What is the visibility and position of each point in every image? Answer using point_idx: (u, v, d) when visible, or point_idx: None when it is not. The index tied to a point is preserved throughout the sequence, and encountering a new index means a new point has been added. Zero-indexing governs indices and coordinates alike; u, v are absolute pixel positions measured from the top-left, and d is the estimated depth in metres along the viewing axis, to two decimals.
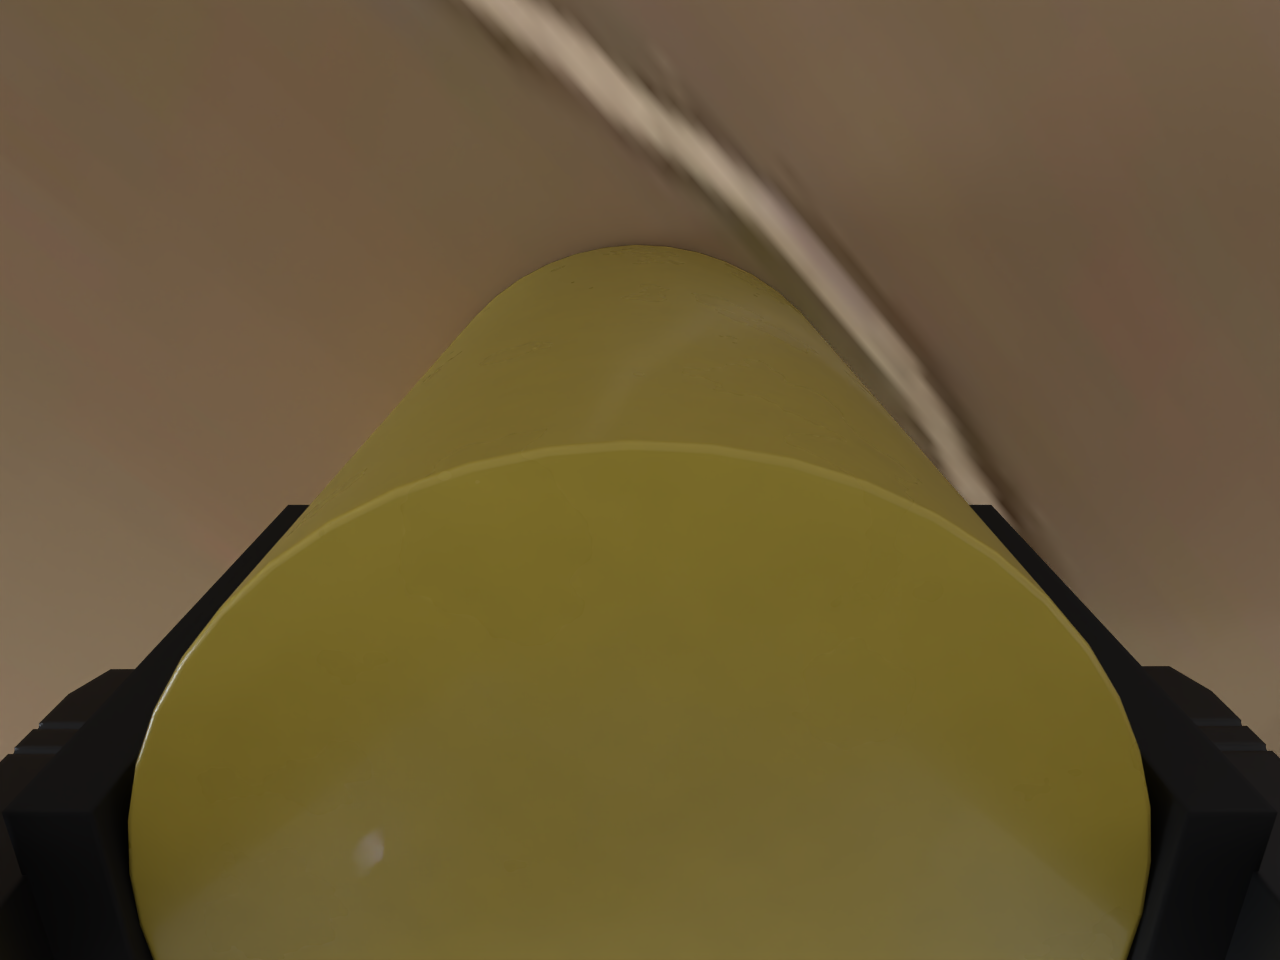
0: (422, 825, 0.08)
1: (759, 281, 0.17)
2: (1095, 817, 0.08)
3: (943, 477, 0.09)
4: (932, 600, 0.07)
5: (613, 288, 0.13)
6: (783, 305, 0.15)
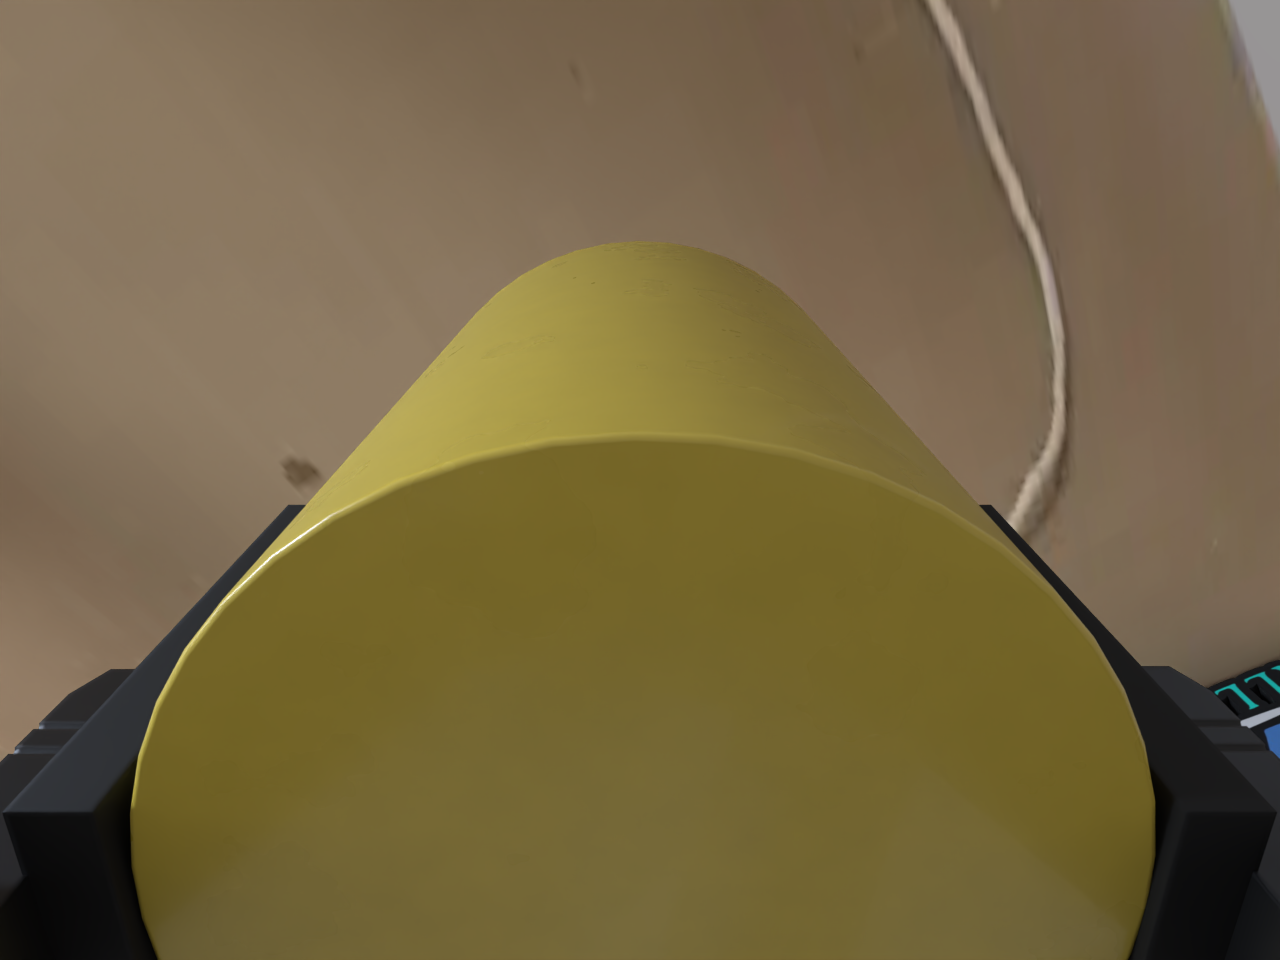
0: (425, 818, 0.08)
1: (761, 277, 0.17)
2: (1100, 811, 0.08)
3: (947, 471, 0.09)
4: (937, 592, 0.07)
5: (615, 283, 0.13)
6: (785, 301, 0.15)
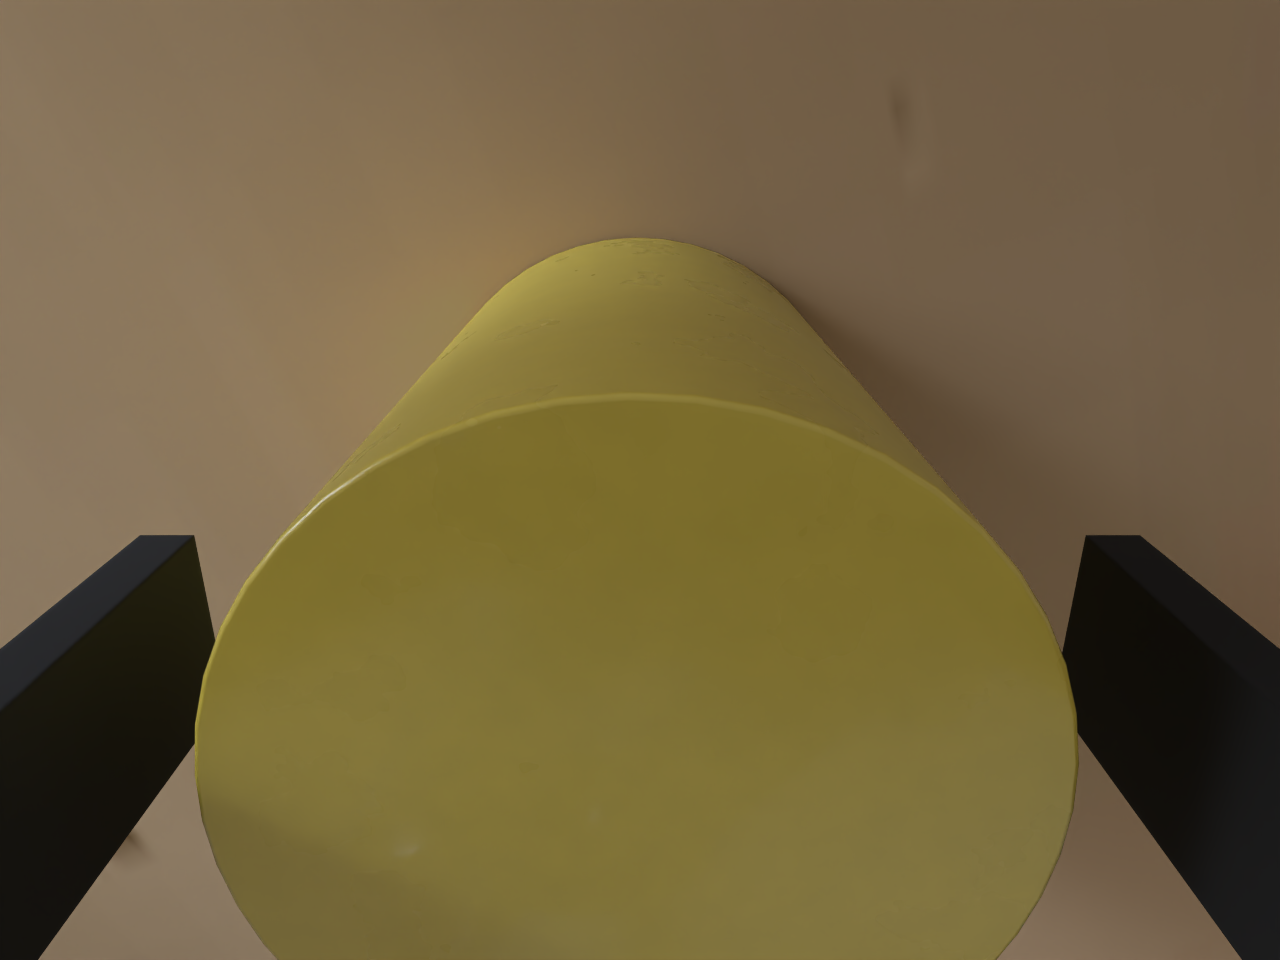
0: (449, 730, 0.09)
1: (749, 271, 0.18)
2: (1028, 724, 0.09)
3: (904, 437, 0.10)
4: (885, 529, 0.08)
5: (613, 275, 0.14)
6: (771, 292, 0.17)
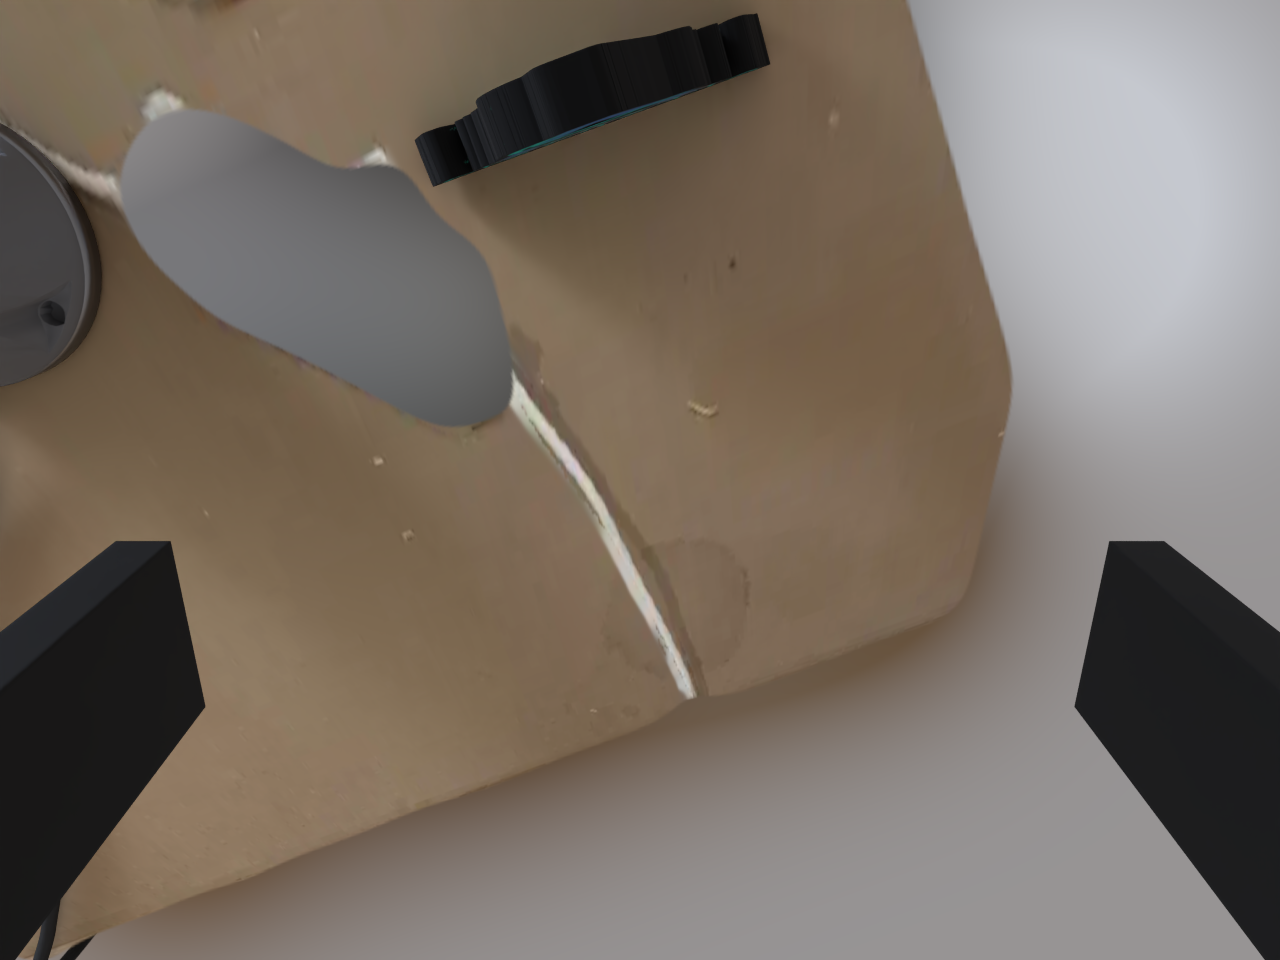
0: None
1: None
2: None
3: None
4: None
5: None
6: None
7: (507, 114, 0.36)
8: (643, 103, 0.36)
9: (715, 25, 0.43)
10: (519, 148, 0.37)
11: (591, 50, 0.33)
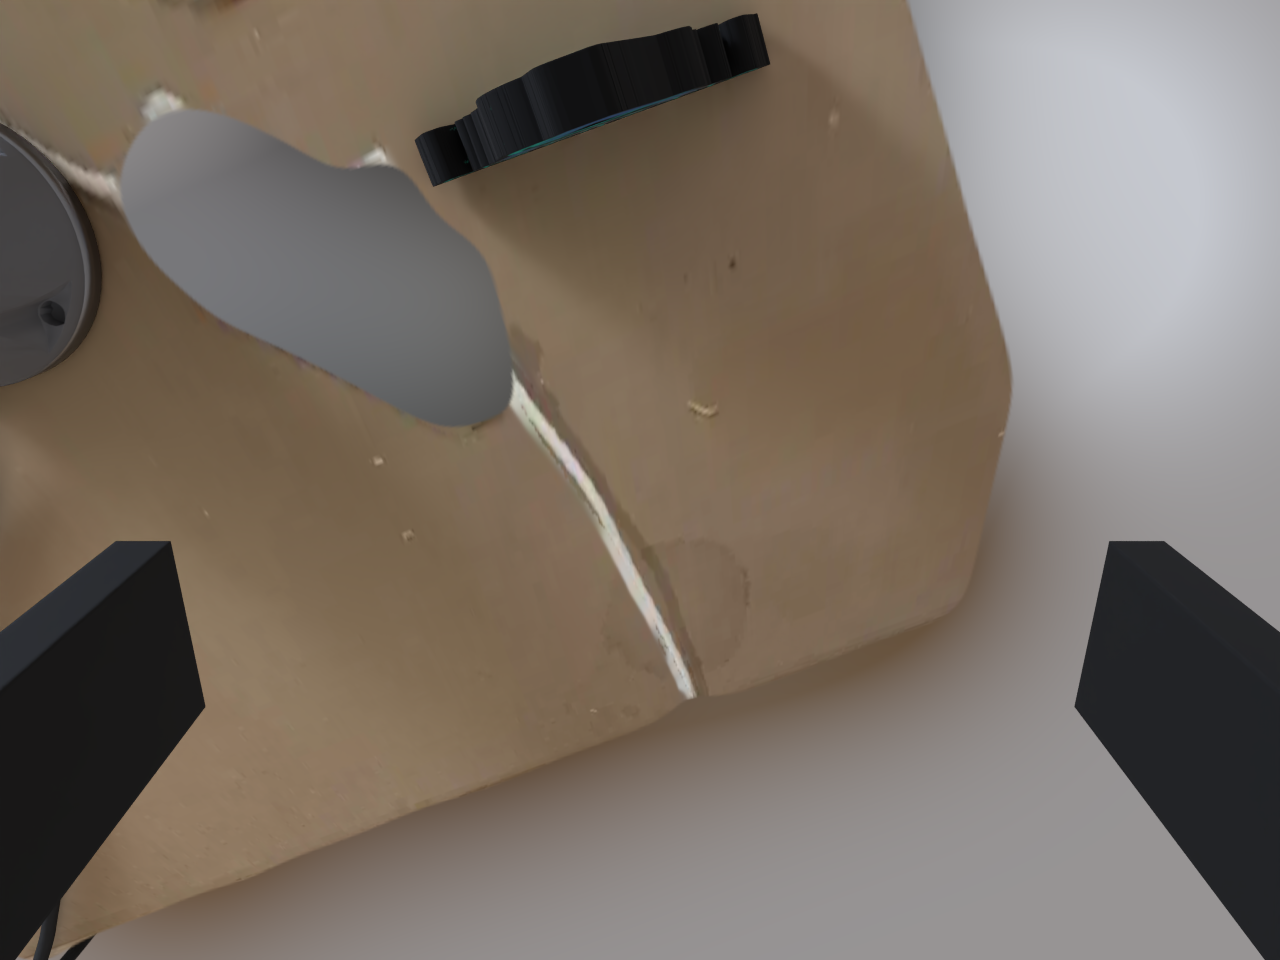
0: None
1: None
2: None
3: None
4: None
5: None
6: None
7: (507, 114, 0.36)
8: (643, 103, 0.36)
9: (715, 25, 0.43)
10: (519, 148, 0.37)
11: (591, 50, 0.33)
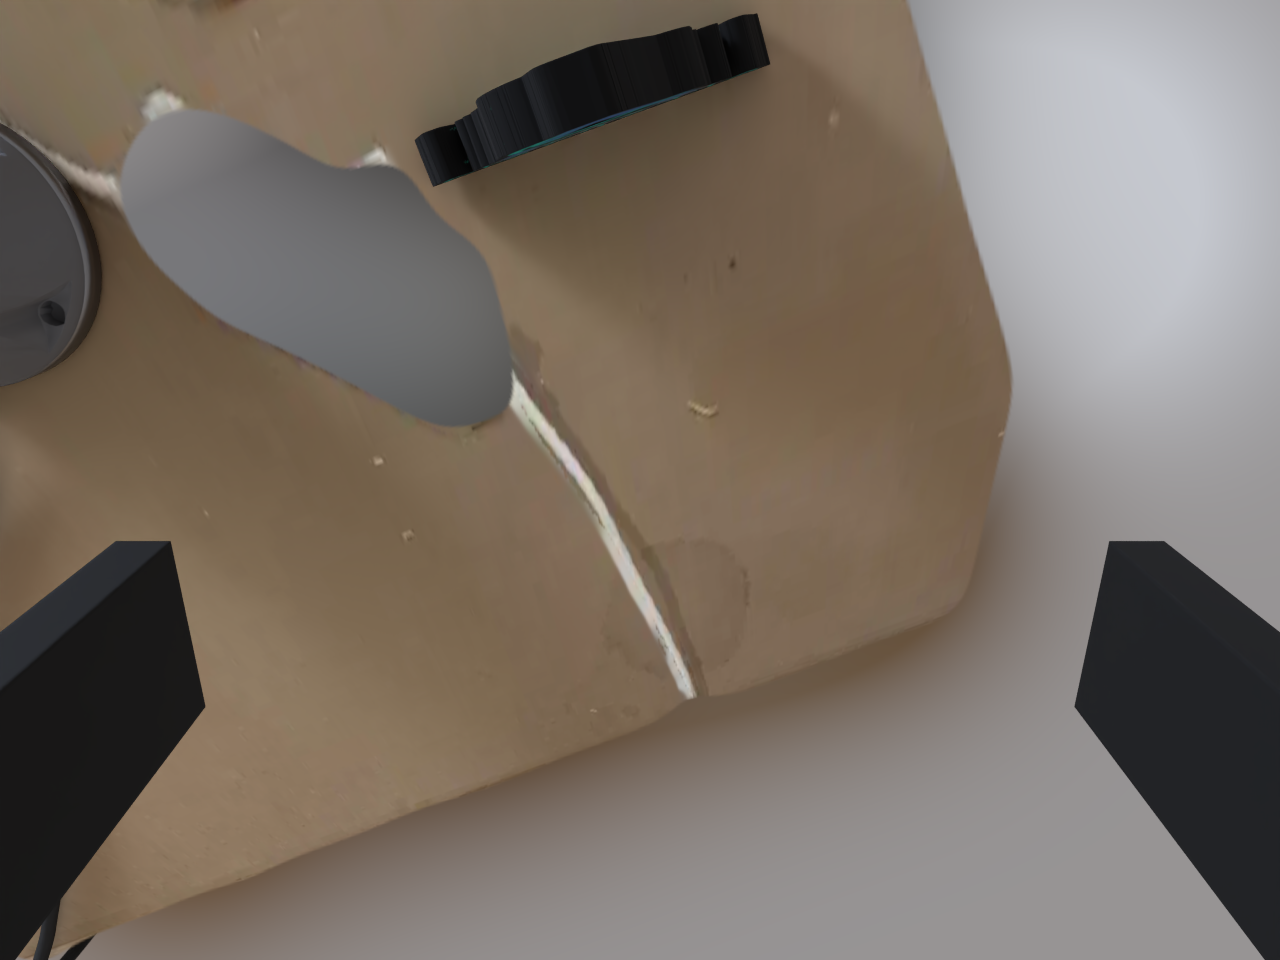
0: None
1: None
2: None
3: None
4: None
5: None
6: None
7: (507, 114, 0.36)
8: (643, 103, 0.36)
9: (715, 25, 0.43)
10: (519, 148, 0.37)
11: (591, 50, 0.33)
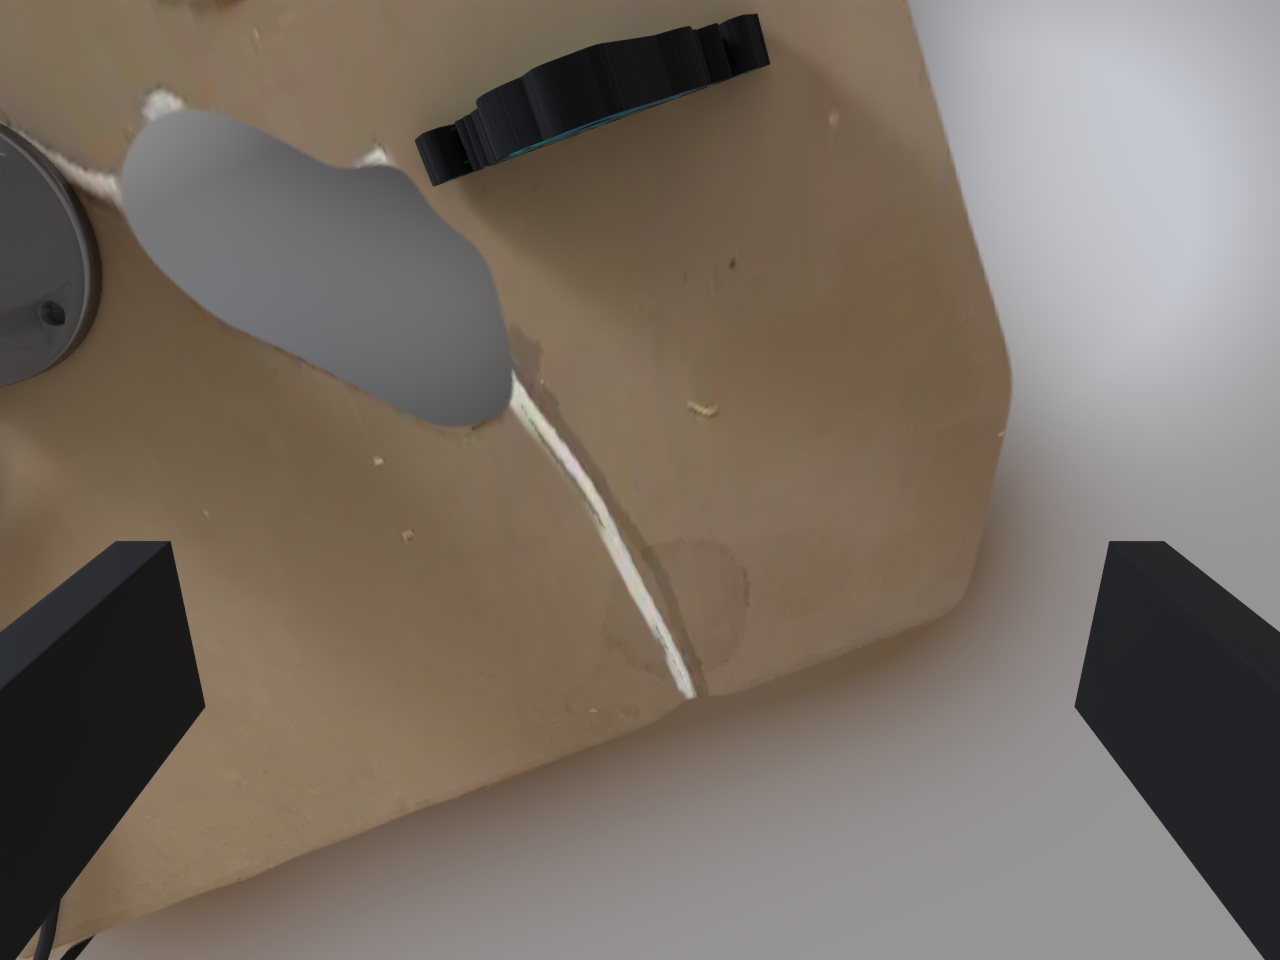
0: None
1: None
2: None
3: None
4: None
5: None
6: None
7: (507, 114, 0.36)
8: (643, 103, 0.36)
9: (715, 25, 0.43)
10: (519, 148, 0.37)
11: (591, 50, 0.33)
